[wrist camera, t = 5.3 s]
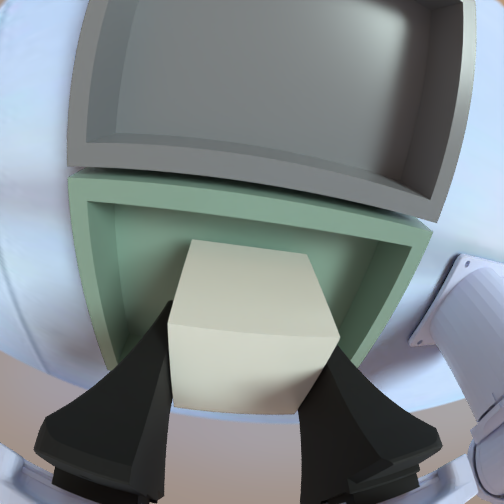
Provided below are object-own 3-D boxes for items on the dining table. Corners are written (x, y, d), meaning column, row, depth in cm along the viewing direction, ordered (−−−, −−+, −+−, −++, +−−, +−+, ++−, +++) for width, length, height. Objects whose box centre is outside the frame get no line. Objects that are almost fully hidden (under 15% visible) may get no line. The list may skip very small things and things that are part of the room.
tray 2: (396, 202, 12) (433, 232, 9) (329, 351, 17) (341, 390, 14) (105, 157, 10) (67, 177, 7) (122, 330, 15) (107, 369, 13)
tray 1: (434, 10, 6) (475, 0, 4) (399, 194, 12) (436, 223, 9) (150, -55, 5) (129, -86, 2) (106, 148, 10) (67, 166, 7)
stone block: (307, 254, 11) (340, 337, 7) (280, 333, 13) (294, 414, 9) (192, 239, 10) (167, 323, 6) (187, 324, 13) (174, 406, 9)
